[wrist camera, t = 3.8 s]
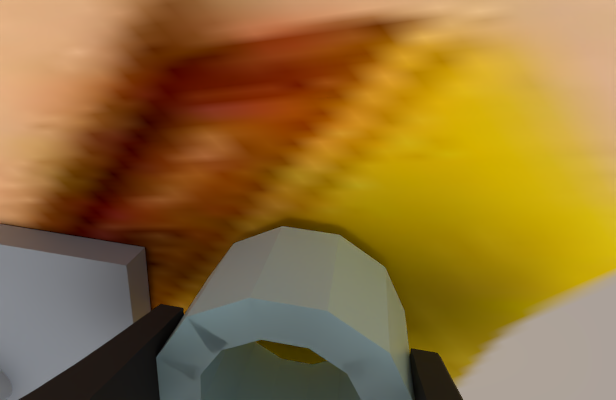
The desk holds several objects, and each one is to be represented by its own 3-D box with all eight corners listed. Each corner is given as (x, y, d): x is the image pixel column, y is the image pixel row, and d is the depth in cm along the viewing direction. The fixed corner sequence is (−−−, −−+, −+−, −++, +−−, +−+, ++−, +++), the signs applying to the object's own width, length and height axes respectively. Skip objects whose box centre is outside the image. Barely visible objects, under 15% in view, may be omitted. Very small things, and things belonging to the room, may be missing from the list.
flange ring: (420, 246, 10) (438, 329, 7) (383, 401, 12) (386, 508, 10) (206, 214, 10) (148, 280, 8) (209, 368, 13) (165, 460, 10)
